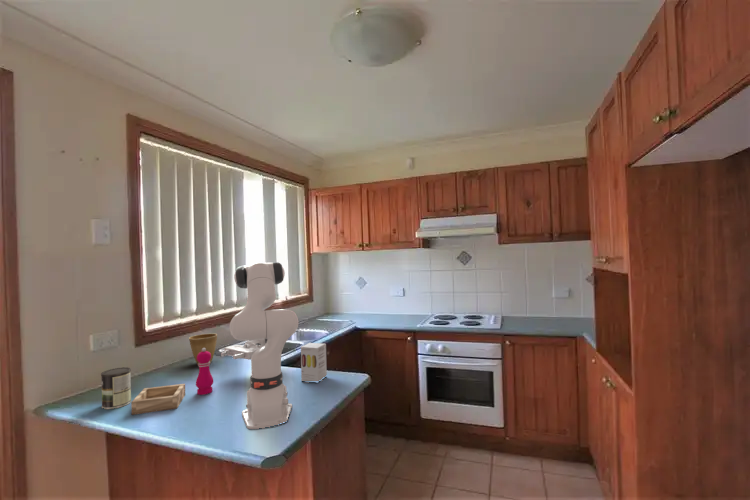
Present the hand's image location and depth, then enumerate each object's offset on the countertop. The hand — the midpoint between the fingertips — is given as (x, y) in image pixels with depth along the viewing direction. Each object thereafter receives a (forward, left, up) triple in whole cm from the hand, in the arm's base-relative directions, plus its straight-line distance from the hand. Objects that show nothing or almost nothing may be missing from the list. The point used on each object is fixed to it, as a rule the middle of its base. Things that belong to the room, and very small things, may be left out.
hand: (227, 356), depth 176 cm
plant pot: (+44, +17, -13) cm, 49 cm away
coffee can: (-9, +43, -13) cm, 46 cm away
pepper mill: (-8, +9, -13) cm, 18 cm away
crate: (-16, +25, -13) cm, 33 cm away
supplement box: (-10, -40, -14) cm, 43 cm away
